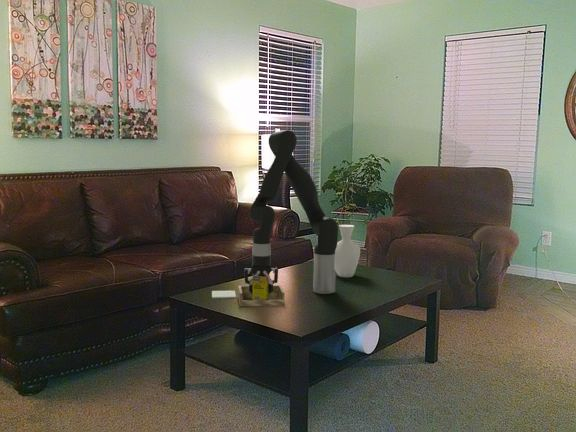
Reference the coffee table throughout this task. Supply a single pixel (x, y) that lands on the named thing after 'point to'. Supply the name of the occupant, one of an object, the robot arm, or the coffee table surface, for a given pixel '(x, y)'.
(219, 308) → the coffee table surface
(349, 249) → the vase
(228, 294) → the pad
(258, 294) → the supplement box
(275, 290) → the crate
